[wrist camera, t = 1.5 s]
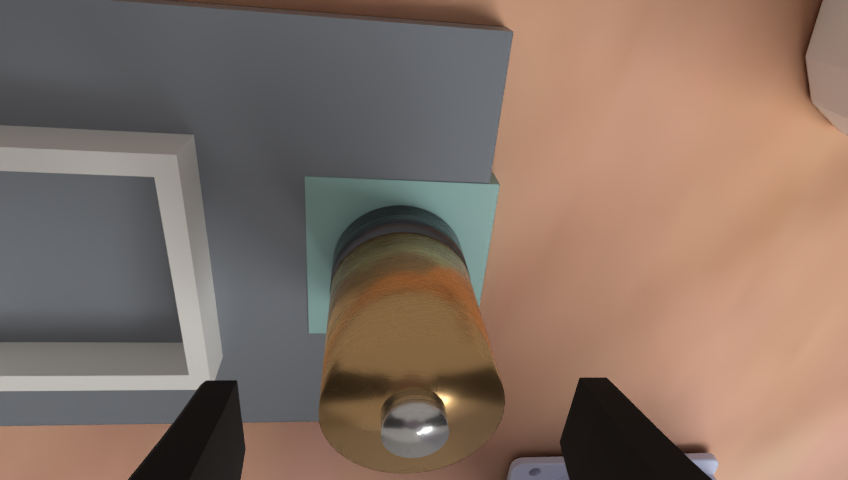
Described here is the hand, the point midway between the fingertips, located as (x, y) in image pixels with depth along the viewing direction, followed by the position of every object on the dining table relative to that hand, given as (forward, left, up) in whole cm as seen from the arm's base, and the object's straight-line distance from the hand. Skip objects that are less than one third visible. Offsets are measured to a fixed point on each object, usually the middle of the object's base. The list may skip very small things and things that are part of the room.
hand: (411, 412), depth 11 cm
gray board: (+5, 0, -7) cm, 9 cm away
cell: (0, 0, -6) cm, 6 cm away
